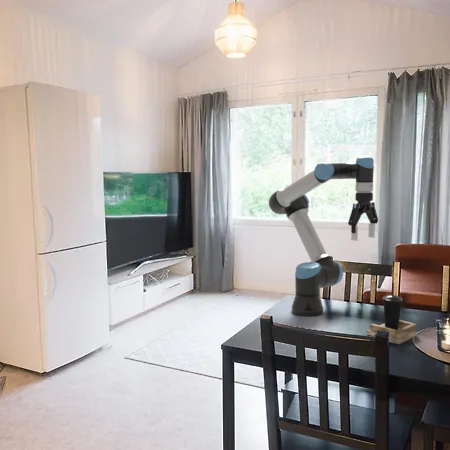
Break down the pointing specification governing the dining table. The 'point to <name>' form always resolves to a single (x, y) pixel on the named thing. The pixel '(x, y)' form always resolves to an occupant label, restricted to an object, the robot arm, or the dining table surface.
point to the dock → (396, 331)
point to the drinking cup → (392, 310)
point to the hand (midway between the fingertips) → (363, 238)
